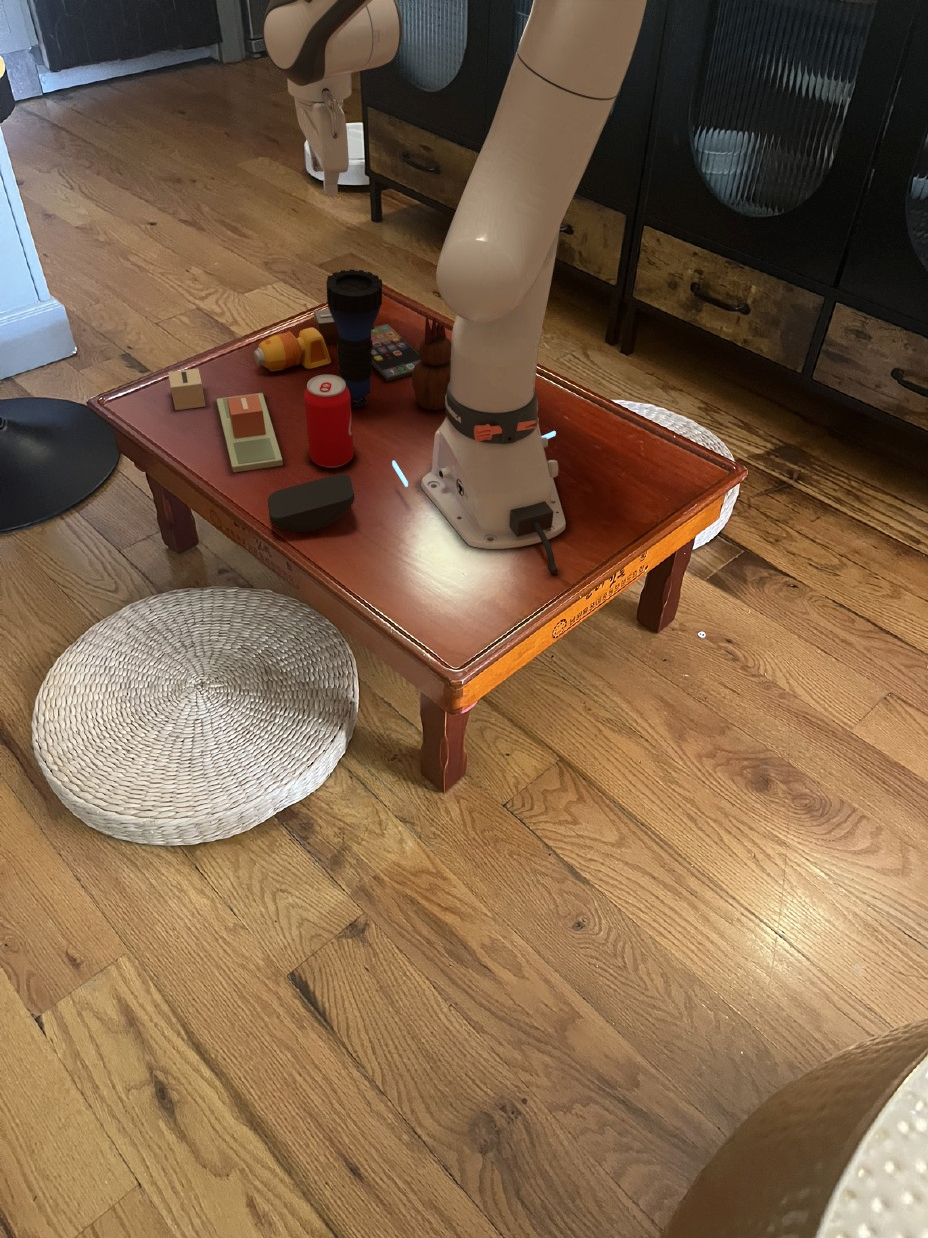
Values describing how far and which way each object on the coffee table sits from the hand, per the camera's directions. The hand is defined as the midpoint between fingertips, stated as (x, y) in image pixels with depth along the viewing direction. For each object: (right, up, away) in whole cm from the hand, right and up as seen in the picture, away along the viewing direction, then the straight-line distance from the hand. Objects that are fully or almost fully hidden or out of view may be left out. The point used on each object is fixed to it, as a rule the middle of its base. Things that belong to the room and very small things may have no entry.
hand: (324, 181), depth 139 cm
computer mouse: (+1, -49, -18) cm, 52 cm away
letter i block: (-21, -32, +4) cm, 38 cm away
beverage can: (+2, -42, -5) cm, 43 cm away
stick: (+15, -22, +15) cm, 31 cm away
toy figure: (-7, -24, +13) cm, 28 cm away
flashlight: (+5, -33, +5) cm, 33 cm away
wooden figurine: (+16, -32, +6) cm, 36 cm away
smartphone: (+8, -21, +16) cm, 28 cm away
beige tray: (-11, -38, -2) cm, 39 cm away
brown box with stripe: (-2, -17, +19) cm, 26 cm away
